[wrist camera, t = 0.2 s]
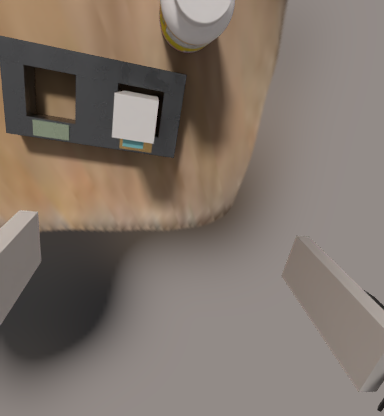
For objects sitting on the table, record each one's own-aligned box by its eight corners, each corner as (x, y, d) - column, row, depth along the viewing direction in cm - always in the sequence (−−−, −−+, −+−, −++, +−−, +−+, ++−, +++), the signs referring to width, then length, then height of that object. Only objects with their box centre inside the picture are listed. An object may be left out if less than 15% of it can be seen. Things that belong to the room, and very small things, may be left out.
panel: (11, 39, 30) (-4, 34, 28) (184, 75, 34) (186, 74, 31) (18, 129, 34) (5, 133, 32) (172, 152, 38) (173, 158, 35)
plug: (126, 90, 34) (114, 92, 24) (157, 96, 35) (158, 101, 25) (123, 128, 36) (111, 145, 26) (153, 133, 37) (152, 151, 27)
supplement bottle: (178, -28, 30) (193, -100, 18) (225, 13, 32) (265, -27, 20) (148, 30, 32) (144, -1, 20) (194, 65, 34) (214, 56, 22)
